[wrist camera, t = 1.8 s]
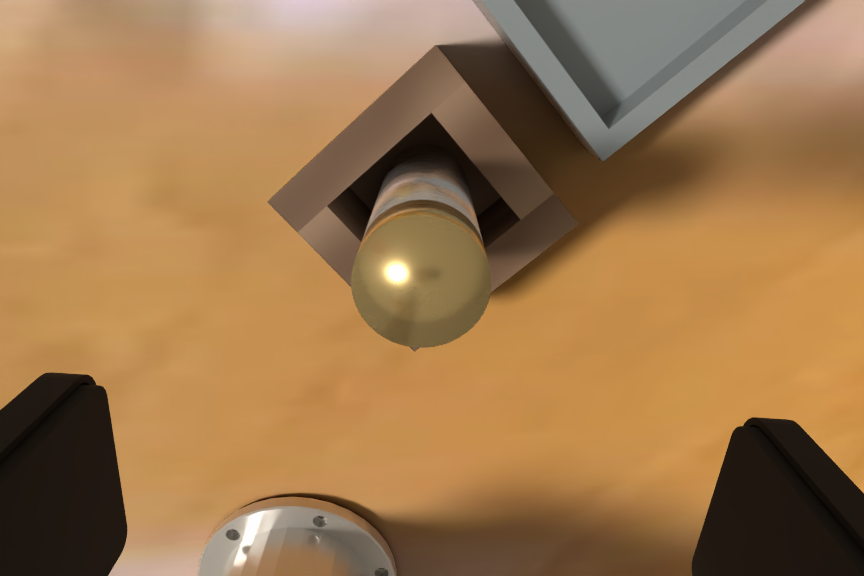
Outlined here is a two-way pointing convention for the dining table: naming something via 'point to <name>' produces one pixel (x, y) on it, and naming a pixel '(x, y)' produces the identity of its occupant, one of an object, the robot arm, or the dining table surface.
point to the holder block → (425, 125)
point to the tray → (625, 55)
